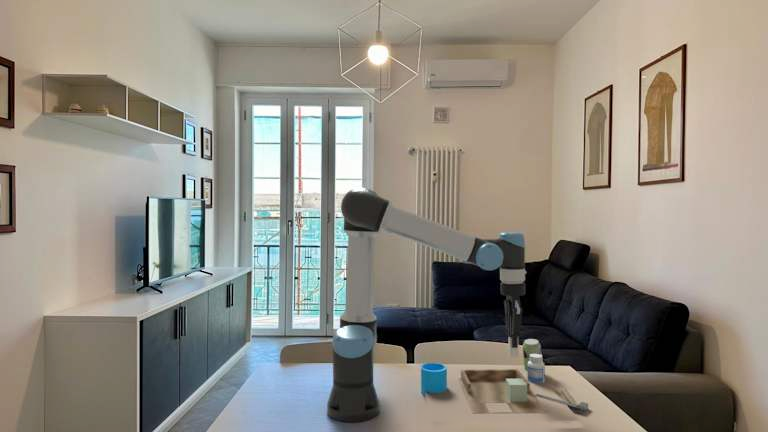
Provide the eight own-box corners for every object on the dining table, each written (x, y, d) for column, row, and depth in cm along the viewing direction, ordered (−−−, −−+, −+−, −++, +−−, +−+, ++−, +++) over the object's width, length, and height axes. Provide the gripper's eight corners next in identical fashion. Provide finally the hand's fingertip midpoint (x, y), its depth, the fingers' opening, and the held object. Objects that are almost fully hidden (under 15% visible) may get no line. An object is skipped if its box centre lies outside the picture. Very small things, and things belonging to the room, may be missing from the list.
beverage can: (544, 372, 167) (544, 338, 166) (538, 378, 160) (539, 343, 160) (526, 369, 170) (526, 336, 170) (520, 375, 164) (520, 341, 164)
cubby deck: (472, 418, 131) (472, 402, 131) (457, 382, 157) (457, 369, 157) (548, 418, 131) (548, 402, 131) (520, 382, 157) (520, 369, 157)
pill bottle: (532, 380, 159) (532, 351, 159) (547, 384, 155) (547, 355, 155) (524, 384, 155) (524, 355, 155) (539, 389, 151) (539, 359, 151)
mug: (446, 398, 145) (446, 372, 144) (419, 396, 146) (419, 370, 146) (447, 384, 156) (447, 359, 156) (423, 382, 158) (423, 358, 158)
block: (510, 401, 138) (510, 384, 138) (505, 394, 143) (505, 378, 143) (527, 401, 138) (527, 384, 138) (522, 394, 143) (522, 378, 143)
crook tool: (581, 415, 133) (581, 408, 133) (534, 401, 143) (534, 395, 143) (588, 409, 136) (588, 403, 136) (542, 396, 146) (542, 390, 146)
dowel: (573, 410, 136) (573, 405, 136) (561, 394, 148) (561, 389, 148) (578, 410, 136) (578, 405, 136) (566, 394, 148) (566, 389, 148)
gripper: (531, 285, 140) (532, 363, 141) (518, 278, 153) (519, 350, 154) (506, 285, 140) (507, 364, 141) (495, 278, 153) (496, 350, 154)
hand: (513, 356), depth 147 cm, fingers closed
